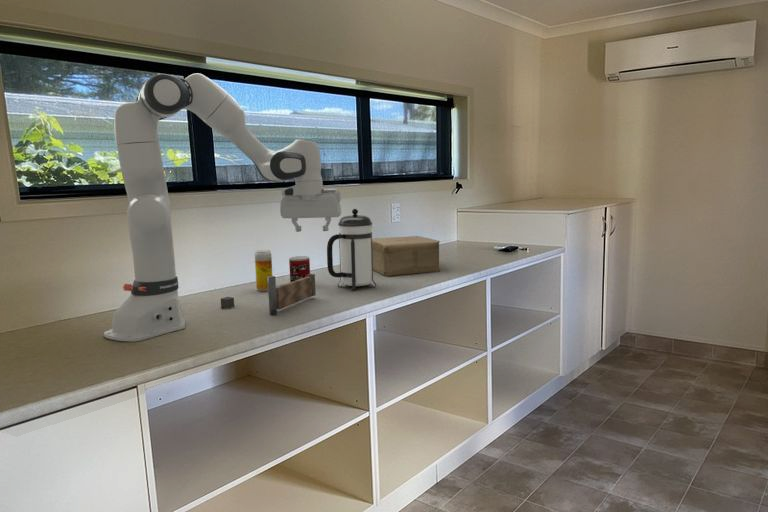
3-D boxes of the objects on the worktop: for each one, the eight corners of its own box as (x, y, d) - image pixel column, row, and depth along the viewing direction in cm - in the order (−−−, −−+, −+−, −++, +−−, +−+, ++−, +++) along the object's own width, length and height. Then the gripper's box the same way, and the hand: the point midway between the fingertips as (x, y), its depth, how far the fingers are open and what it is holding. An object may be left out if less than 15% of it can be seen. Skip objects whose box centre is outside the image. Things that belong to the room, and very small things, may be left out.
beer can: (269, 292, 201) (267, 252, 198) (254, 291, 202) (251, 252, 200) (275, 288, 207) (273, 249, 204) (260, 288, 208) (258, 249, 205)
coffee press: (340, 282, 216) (338, 207, 211) (379, 283, 213) (378, 207, 208) (327, 292, 199) (325, 210, 194) (369, 293, 196) (368, 210, 191)
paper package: (417, 262, 258) (416, 233, 255) (442, 272, 234) (442, 240, 232) (363, 267, 248) (363, 237, 246) (384, 277, 224) (384, 244, 222)
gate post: (274, 315, 168) (272, 277, 167) (267, 314, 170) (265, 277, 168) (278, 313, 171) (276, 276, 169) (272, 312, 172) (270, 275, 170)
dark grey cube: (234, 306, 181) (233, 297, 180) (227, 308, 178) (227, 299, 177) (227, 305, 182) (227, 296, 182) (221, 307, 179) (220, 298, 179)
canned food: (286, 286, 209) (285, 258, 208) (297, 282, 217) (296, 255, 215) (303, 288, 207) (302, 259, 205) (314, 283, 214) (313, 256, 212)
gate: (280, 309, 171) (278, 286, 170) (274, 309, 172) (273, 285, 171) (315, 295, 190) (314, 274, 189) (310, 294, 191) (309, 273, 190)
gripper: (342, 188, 178) (344, 229, 181) (283, 189, 182) (286, 230, 184) (337, 189, 172) (339, 232, 174) (276, 191, 176) (280, 233, 178)
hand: (312, 231), depth 179 cm, fingers open, 8 cm apart
